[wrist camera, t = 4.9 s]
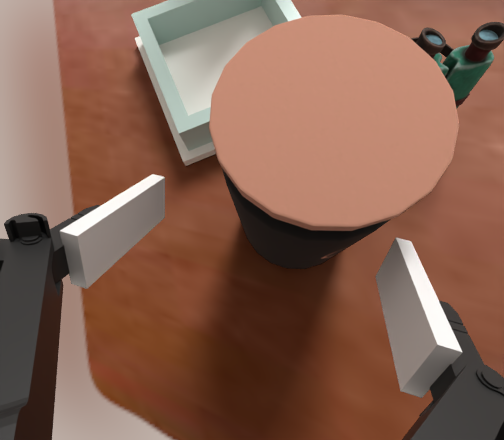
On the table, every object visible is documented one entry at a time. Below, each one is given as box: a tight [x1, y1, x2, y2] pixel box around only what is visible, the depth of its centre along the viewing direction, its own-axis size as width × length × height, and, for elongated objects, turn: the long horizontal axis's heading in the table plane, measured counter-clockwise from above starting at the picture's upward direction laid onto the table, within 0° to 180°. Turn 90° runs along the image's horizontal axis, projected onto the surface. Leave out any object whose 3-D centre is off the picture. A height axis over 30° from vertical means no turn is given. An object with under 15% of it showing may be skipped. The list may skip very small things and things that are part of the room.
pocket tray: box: [131, 0, 301, 166], centre depth 33 cm, size 19×19×4 cm
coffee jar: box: [209, 15, 459, 269], centre depth 21 cm, size 11×11×18 cm
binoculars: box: [410, 22, 504, 109], centre depth 28 cm, size 9×11×10 cm
